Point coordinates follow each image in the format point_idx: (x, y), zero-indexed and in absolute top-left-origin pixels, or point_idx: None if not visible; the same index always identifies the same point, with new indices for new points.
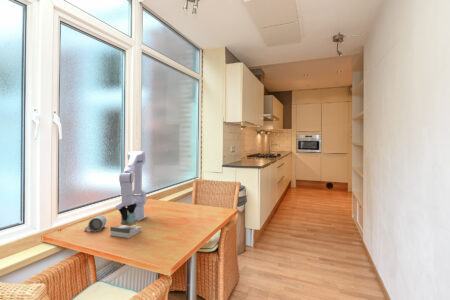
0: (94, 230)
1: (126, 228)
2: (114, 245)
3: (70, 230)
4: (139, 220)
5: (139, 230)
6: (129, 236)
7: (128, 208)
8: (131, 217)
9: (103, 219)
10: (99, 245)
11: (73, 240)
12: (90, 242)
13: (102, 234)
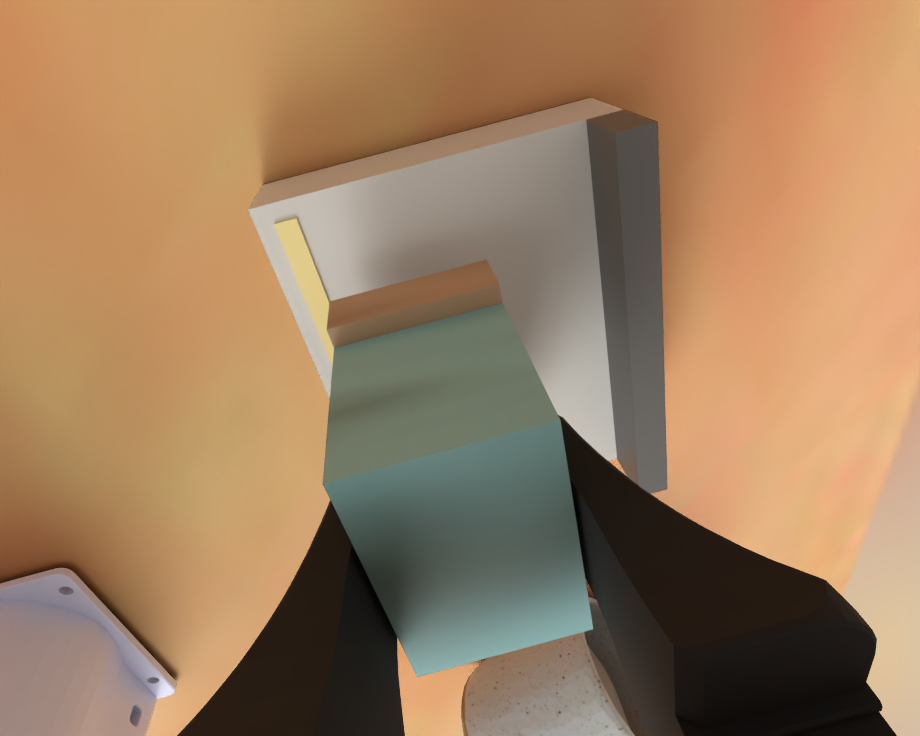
0: (599, 624)
1: None
2: (873, 47)
3: None
4: (63, 569)
5: (314, 177)
6: (578, 106)
7: (690, 639)
8: (483, 380)
9: (546, 724)
10: (896, 245)
11: (823, 554)
12: (836, 405)
13: None
